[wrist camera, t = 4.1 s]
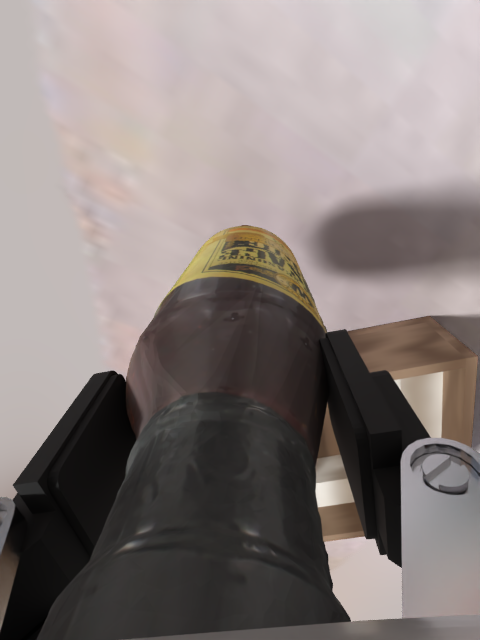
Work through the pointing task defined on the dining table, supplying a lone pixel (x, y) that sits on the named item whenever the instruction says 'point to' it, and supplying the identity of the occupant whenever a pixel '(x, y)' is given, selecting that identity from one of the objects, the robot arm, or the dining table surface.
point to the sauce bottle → (216, 461)
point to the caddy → (421, 393)
